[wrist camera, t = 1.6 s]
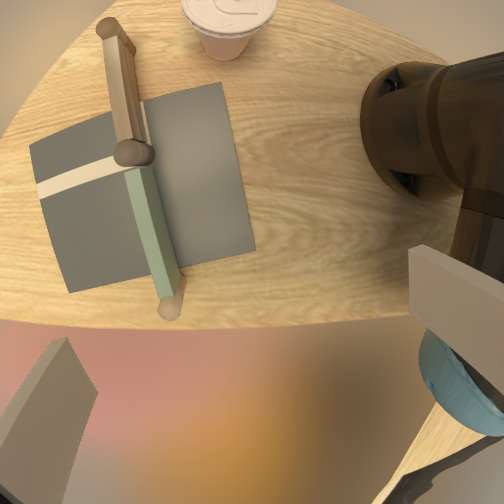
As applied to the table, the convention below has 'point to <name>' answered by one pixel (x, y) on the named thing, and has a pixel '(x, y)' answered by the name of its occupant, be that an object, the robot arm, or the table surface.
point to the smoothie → (227, 23)
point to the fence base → (124, 96)
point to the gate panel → (156, 241)
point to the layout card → (168, 182)
